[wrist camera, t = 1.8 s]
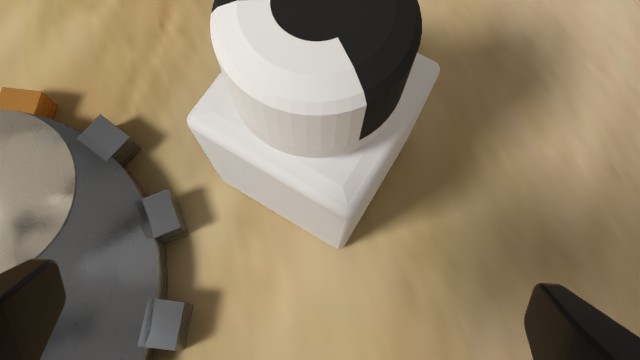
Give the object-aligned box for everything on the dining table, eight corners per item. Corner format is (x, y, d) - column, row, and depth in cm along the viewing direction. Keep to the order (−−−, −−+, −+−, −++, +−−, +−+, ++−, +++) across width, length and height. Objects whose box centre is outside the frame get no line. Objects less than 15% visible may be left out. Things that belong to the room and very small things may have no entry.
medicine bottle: (294, 74, 25) (277, -134, 14) (409, 136, 24) (492, -34, 13) (219, 180, 24) (128, 39, 12) (340, 253, 22) (366, 174, 11)
